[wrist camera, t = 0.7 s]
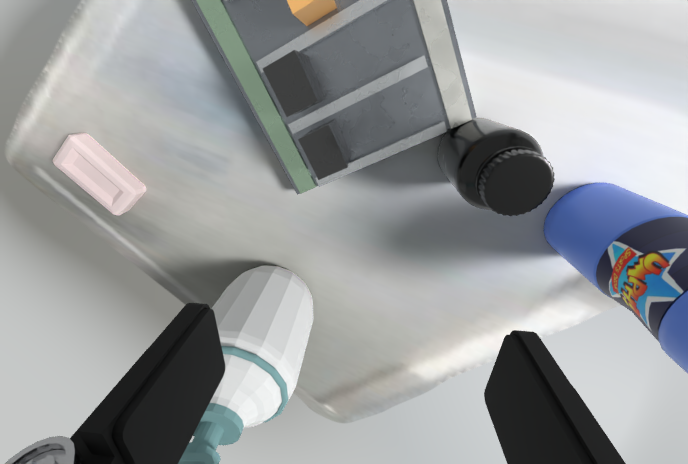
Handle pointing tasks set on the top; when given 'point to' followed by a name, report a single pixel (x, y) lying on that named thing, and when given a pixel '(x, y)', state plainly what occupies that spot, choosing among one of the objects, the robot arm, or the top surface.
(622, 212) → the water bottle
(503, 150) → the supplement bottle
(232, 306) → the soap bottle
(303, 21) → the handle
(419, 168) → the top surface
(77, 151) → the soap bar
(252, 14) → the breaker panel
